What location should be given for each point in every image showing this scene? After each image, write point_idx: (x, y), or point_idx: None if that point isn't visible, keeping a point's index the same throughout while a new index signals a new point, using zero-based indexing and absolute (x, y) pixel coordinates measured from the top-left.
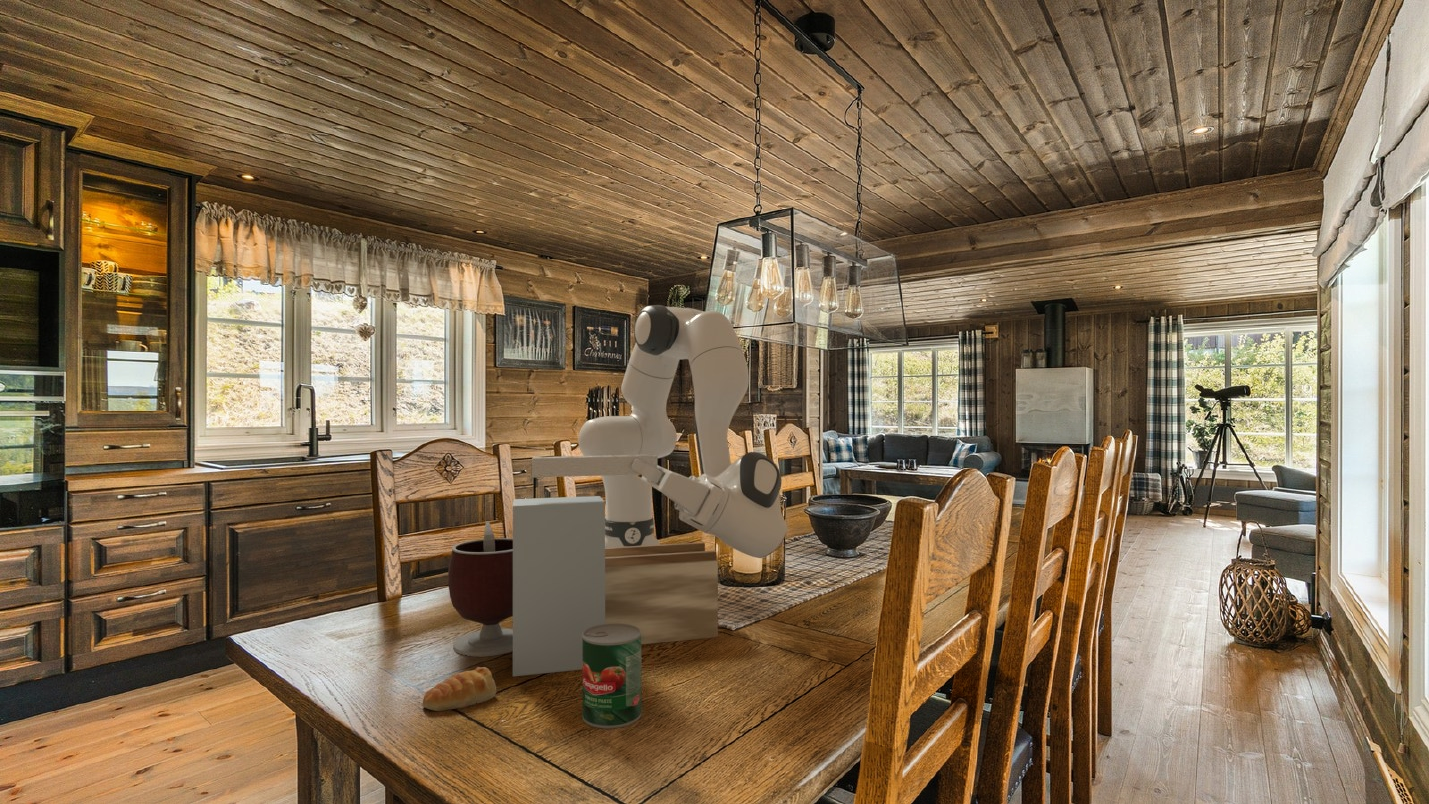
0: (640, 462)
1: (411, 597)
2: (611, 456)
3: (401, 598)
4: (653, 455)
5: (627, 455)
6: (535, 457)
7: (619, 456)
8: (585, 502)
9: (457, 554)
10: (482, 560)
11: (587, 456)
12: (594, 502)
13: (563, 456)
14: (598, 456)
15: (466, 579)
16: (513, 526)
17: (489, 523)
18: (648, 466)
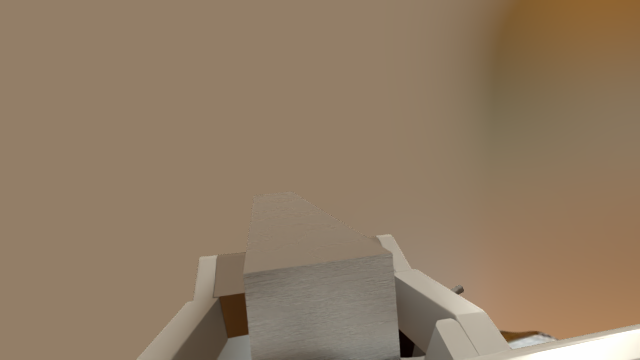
0: (199, 279)
1: (543, 340)
2: (265, 216)
3: (533, 335)
4: (283, 260)
5: (311, 222)
6: (279, 193)
7: (256, 221)
8: (230, 338)
9: None
10: None
11: (285, 204)
12: (220, 354)
13: (298, 196)
14: (278, 209)
15: None
16: None
17: (455, 290)
18: (172, 326)
